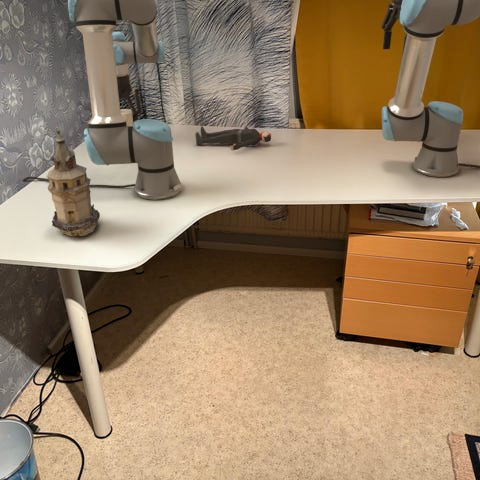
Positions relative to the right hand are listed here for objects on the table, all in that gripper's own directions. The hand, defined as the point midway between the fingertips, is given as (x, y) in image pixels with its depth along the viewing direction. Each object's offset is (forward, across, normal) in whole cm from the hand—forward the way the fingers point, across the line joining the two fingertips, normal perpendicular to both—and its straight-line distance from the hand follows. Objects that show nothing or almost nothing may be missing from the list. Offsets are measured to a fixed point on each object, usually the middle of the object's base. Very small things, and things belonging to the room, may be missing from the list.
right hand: (395, 52), depth 204 cm
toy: (+34, -16, -60) cm, 71 cm away
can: (+33, -34, -101) cm, 112 cm away
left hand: (+30, -34, -101) cm, 111 cm away
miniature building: (+34, +38, -126) cm, 136 cm away
